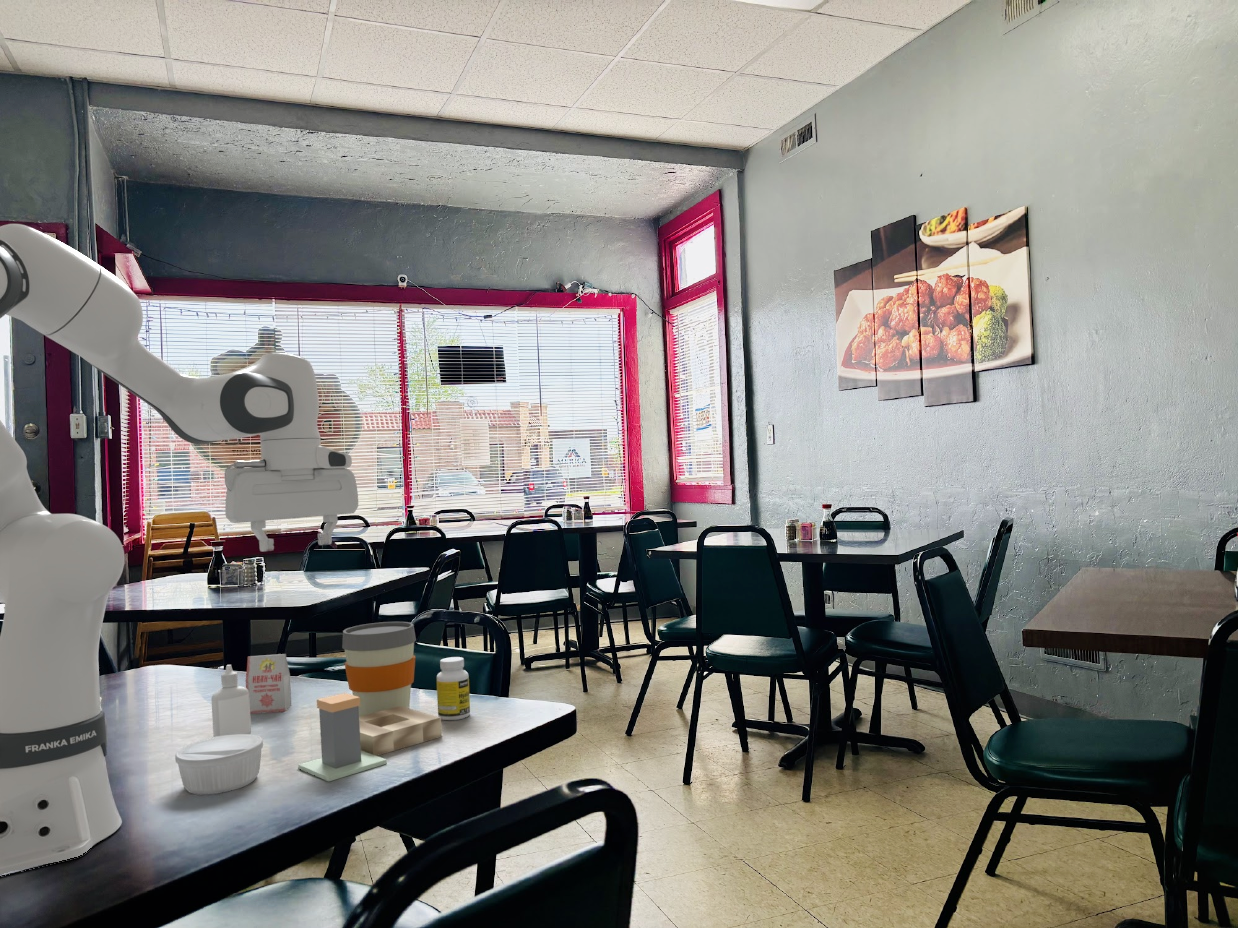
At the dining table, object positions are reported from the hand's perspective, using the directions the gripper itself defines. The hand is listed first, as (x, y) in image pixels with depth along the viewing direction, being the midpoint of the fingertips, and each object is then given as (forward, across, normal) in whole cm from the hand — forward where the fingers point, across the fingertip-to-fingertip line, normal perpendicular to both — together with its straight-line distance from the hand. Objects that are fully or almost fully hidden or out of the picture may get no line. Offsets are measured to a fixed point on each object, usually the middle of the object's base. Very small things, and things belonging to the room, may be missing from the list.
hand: (296, 547), depth 139 cm
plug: (+30, -1, -13) cm, 33 cm away
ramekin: (+31, -15, -5) cm, 35 cm away
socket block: (+31, +10, -7) cm, 33 cm away
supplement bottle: (+31, +24, -5) cm, 40 cm away
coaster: (+31, -1, -13) cm, 34 cm away
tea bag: (+31, +7, +29) cm, 43 cm away
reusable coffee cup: (+31, +18, +8) cm, 37 cm away
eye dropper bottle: (+31, -5, +16) cm, 36 cm away
